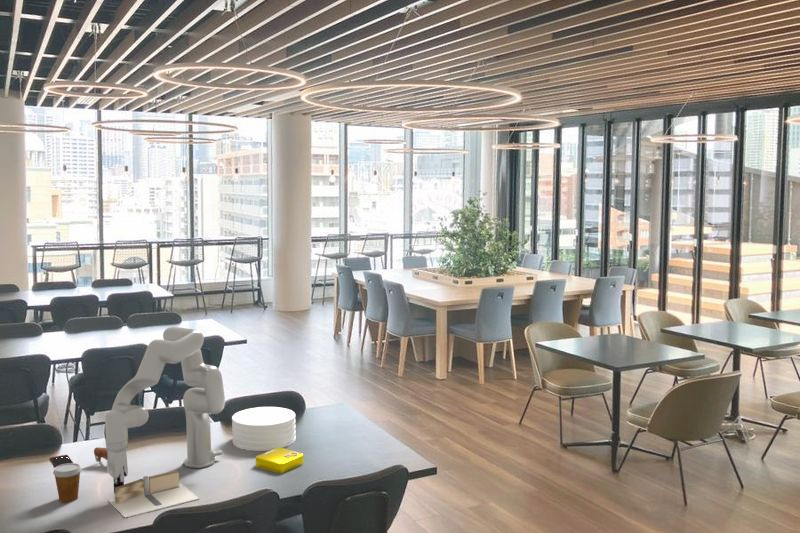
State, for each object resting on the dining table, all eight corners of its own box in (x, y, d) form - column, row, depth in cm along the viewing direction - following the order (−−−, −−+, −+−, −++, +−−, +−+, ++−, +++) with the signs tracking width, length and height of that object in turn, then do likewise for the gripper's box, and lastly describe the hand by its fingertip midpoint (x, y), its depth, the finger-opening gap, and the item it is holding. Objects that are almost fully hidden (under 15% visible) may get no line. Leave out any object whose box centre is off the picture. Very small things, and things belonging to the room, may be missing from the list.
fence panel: (142, 493, 292) (141, 478, 291) (144, 493, 291) (143, 479, 291) (115, 502, 284) (114, 487, 283) (117, 503, 283) (116, 488, 282)
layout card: (180, 484, 303) (179, 466, 302) (199, 499, 289) (198, 481, 288) (108, 501, 287) (107, 483, 286) (124, 518, 273) (124, 499, 272)
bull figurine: (122, 468, 320) (121, 448, 319) (92, 465, 323) (91, 446, 322) (128, 464, 324) (127, 445, 323) (98, 461, 327) (97, 442, 326)
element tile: (278, 456, 335) (278, 445, 334) (305, 463, 326) (305, 452, 326) (253, 467, 322) (253, 455, 322) (280, 475, 314) (280, 463, 313)
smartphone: (67, 454, 334) (75, 464, 322) (67, 456, 334) (75, 466, 322) (49, 457, 330) (56, 468, 318) (49, 459, 331) (56, 470, 318)
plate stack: (264, 426, 374) (264, 403, 373) (308, 438, 358) (308, 413, 356) (219, 442, 351) (218, 417, 350) (264, 455, 335) (263, 429, 334)
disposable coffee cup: (59, 494, 293) (58, 463, 292) (86, 493, 294) (84, 462, 293) (50, 504, 284) (49, 472, 283) (77, 503, 285) (76, 471, 283)
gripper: (100, 441, 289) (102, 489, 291) (112, 452, 277) (114, 502, 279) (121, 437, 294) (123, 484, 296) (134, 448, 282) (135, 497, 284)
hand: (119, 493), depth 287 cm, fingers closed
